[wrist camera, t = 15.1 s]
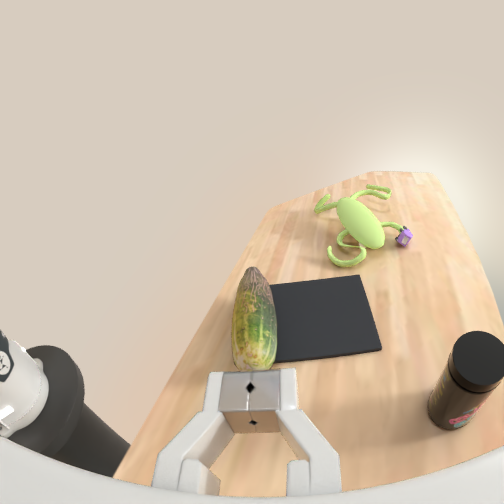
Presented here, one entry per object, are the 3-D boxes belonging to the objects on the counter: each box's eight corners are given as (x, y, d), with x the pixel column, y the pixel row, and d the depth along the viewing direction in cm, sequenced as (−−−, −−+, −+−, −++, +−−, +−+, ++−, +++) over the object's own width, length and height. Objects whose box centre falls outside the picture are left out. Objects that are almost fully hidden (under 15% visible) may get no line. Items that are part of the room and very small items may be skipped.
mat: (235, 365, 41) (234, 363, 41) (243, 290, 54) (242, 287, 54) (381, 350, 38) (382, 347, 38) (359, 277, 51) (359, 274, 51)
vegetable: (217, 377, 35) (226, 275, 52) (257, 394, 37) (255, 293, 54) (250, 354, 33) (250, 251, 49) (291, 374, 35) (279, 272, 52)
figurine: (383, 198, 73) (383, 178, 70) (425, 259, 51) (429, 233, 48) (312, 206, 76) (310, 185, 73) (330, 273, 54) (329, 246, 51)
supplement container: (431, 437, 26) (462, 392, 20) (421, 390, 31) (444, 336, 26) (479, 424, 25) (518, 375, 19) (466, 380, 30) (495, 325, 25)
